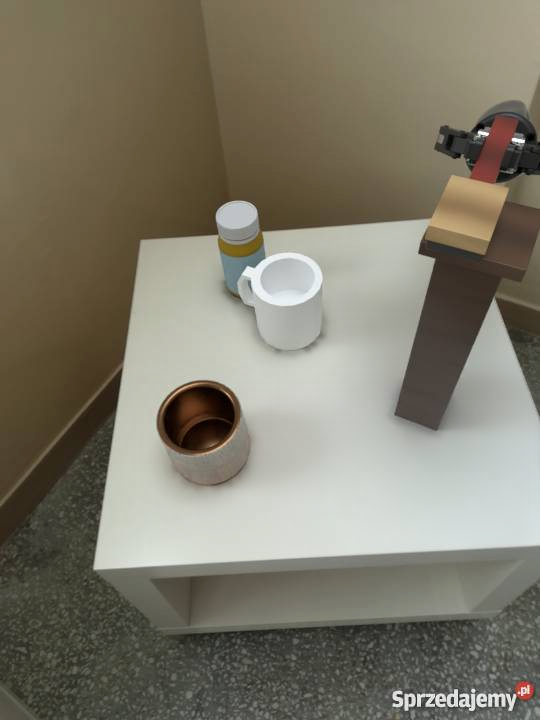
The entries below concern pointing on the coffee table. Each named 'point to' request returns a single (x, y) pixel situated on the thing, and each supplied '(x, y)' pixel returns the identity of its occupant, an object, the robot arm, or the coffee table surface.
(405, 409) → the stand
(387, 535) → the coffee table surface
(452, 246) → the brush
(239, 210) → the bottle
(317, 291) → the mug
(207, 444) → the planter
